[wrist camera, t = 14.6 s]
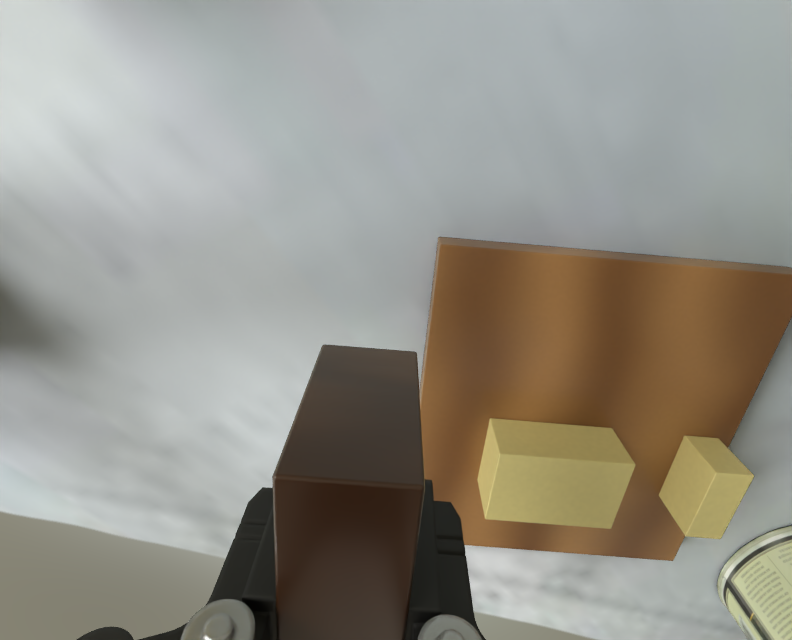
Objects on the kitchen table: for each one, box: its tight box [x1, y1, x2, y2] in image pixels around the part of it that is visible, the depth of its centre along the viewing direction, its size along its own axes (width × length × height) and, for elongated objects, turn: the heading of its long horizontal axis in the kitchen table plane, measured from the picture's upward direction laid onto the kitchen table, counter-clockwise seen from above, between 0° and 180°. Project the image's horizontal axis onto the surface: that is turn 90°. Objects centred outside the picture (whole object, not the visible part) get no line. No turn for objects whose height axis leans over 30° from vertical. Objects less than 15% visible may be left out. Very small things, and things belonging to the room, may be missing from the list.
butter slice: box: [659, 436, 754, 539], centre depth 26 cm, size 2×5×3 cm, turn 175°
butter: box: [477, 418, 635, 529], centre depth 25 cm, size 7×5×3 cm, turn 85°
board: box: [419, 237, 792, 561], centre depth 27 cm, size 18×20×2 cm
